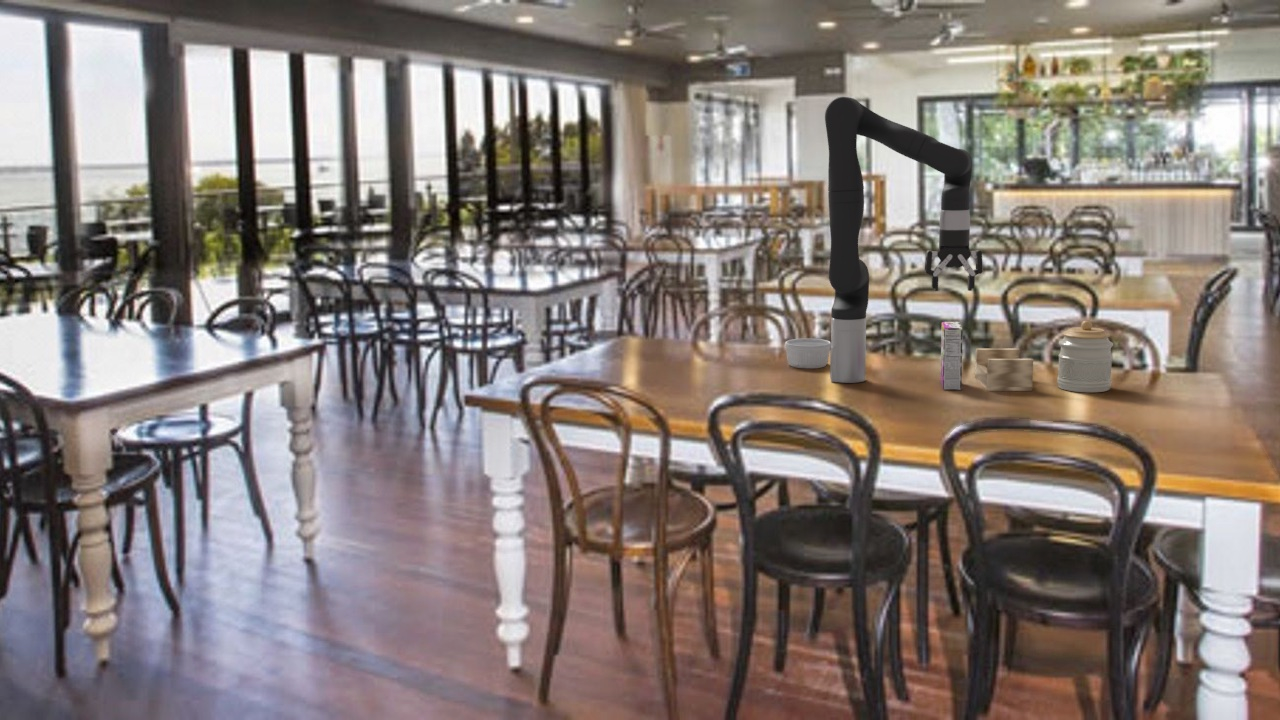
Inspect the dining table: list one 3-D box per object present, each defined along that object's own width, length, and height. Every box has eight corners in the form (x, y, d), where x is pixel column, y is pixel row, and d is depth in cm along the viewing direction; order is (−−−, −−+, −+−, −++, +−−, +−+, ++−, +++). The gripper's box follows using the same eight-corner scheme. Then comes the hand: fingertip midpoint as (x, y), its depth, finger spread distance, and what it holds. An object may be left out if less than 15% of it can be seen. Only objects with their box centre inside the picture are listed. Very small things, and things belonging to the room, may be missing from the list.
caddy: (988, 390, 294) (989, 360, 293) (974, 377, 312) (975, 348, 310) (1032, 390, 293) (1033, 360, 292) (1016, 377, 311) (1017, 348, 309)
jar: (1070, 381, 304) (1073, 315, 301) (1119, 387, 295) (1123, 319, 292) (1048, 389, 295) (1050, 321, 292) (1097, 395, 286) (1101, 325, 283)
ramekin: (833, 369, 329) (834, 345, 327) (788, 369, 329) (788, 346, 328) (827, 361, 342) (827, 338, 340) (782, 361, 342) (782, 338, 341)
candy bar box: (939, 381, 307) (940, 321, 304) (958, 382, 306) (960, 321, 303) (941, 390, 296) (943, 327, 293) (961, 390, 295) (963, 327, 292)
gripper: (928, 229, 291) (926, 292, 294) (985, 228, 289) (983, 292, 292) (924, 227, 298) (922, 289, 301) (980, 226, 297) (978, 288, 299)
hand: (952, 290), depth 296 cm, fingers open, 8 cm apart
